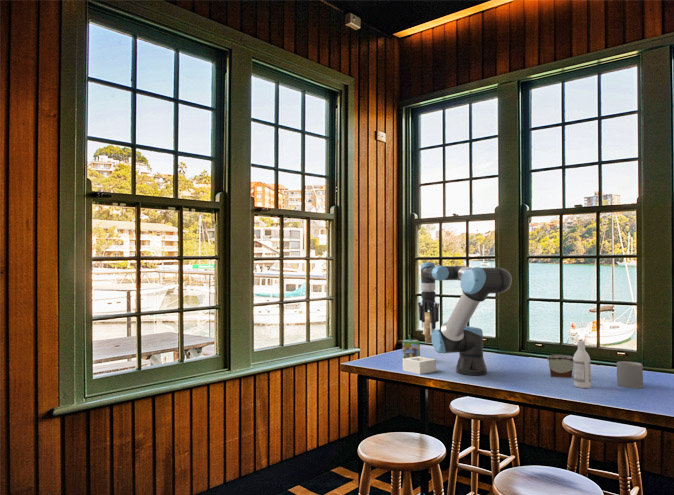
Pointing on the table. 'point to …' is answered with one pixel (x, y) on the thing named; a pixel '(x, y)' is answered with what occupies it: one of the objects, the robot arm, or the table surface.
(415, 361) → the socket block
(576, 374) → the bath foam
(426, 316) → the oak peg
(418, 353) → the juice carton
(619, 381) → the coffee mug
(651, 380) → the table surface
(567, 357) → the food container
